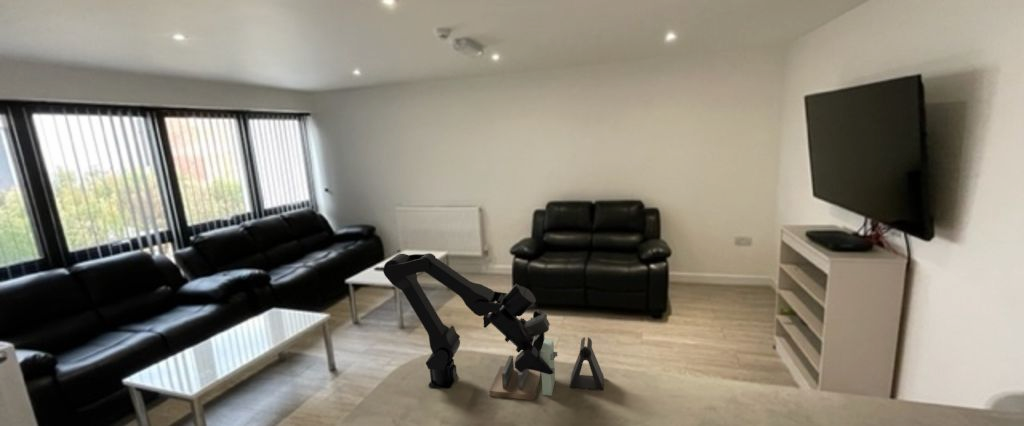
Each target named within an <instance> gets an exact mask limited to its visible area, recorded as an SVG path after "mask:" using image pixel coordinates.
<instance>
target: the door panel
mask: <svg viewBox="0 0 1024 426" xmlns="http://www.w3.org/2000/svg"><path fill="white" fill-rule="evenodd" d="M554 344H555V343H554V339H553V338H546V337H545V339H544V342H543V345H542V349H541V358H542V359H543V360H544V361H545V362H546V363H547V364H548V366H549V367H550V368H551V369H552V370H553V373H552V374H551V375H550V374H546V373H542V372H541V386H542V387H541V388H542V396H550V397H551V396H553V391H554V387H555V382H556V373H555V371H556V369H555V358H557V357H558V351H555V350H554V349H555V345H554ZM554 356H555V358H554Z"/></svg>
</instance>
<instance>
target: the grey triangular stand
mask: <svg viewBox="0 0 1024 426" xmlns="http://www.w3.org/2000/svg"><path fill="white" fill-rule="evenodd" d="M585 342H586V337H582V338H581V340H580V349H579V353H578V356H577V359H576V361H575V363H574V365H573V368H572V372H571V374H570V380H569V382H570V383H569V389H575V390H577V389H578V390H591V391H604V386H605V385H604V383H605V382H604V381H605V377H604V373H603V372H602V370H601V366H600V364H599V362H598V359H597V357H596V354H595V352H594V349H593V341H592V338H590V337H587V342H586V343H587V345H586V346H585ZM584 361H587V363H588V365H589V368H590V371H591V374H592V375H586V374H585V375H584V374H581V371H582V367H583V364H584ZM576 388H577V389H576Z"/></svg>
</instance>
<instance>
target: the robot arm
mask: <svg viewBox="0 0 1024 426" xmlns="http://www.w3.org/2000/svg"><path fill="white" fill-rule="evenodd" d="M382 272H383V274H384V276H385V278H386V279H387V280H388V281H389V282H390V283H391V285H392V286H394V287H396V288H397V289H398V290H399V291H402V293H403V295H404V296H405V298H406V300H407V301H408V303H409V305H410V306H411V308H412V310H413V311H414V313H415V315H416V316H417V319H418V320H419V322H420V323H421V325H422V327H423V328H424V329H425V331H426V333H427V335H428V340H429V348H430V350H431V354H430V355H429V357H428V358H427V360H426V362H425V365H426V367H427V369H428V370H429V373H430V374H429V375H430V376H429V377H430V381H429V383H428V388H438V389H439V388H441V389H451V388H452V386H453V384H454V383H455V382H456V380H457V378H458V373H457V371H458V370H457V365H456V364H455V359H454V356H455V354H456V353H457V352H458V350H459V348H460V345H461V340H460V338H461V335H459V334H458V332H457V330H456V328H455V327H454V325H451V326H450V327H448V326H447V325H446V324H444V323H443V321H442V320H441V318H440V317H439V316H440V315H438V313H437V311H436V310H435V308H434V306H433V304H432V303H431V301H430V299H429V297H428V296H427V295H426V293H425V291H424V290H423V287H422V286H421V285H420V283H419V281H418V275H417V274H419V273H426V274H427V275H429V276H430V277H432V278H433V279H434V280H435V281H437V282H439V283H440V284H441V285H443V286H445V287H446V288H447V289H449V290H450V291H451V292H453V293H454V294H456V295H457V296H459V297H460V298H461V300H462V301H463V302H464V305H465V306H466V307H467V308H468V309H469V310H470V311H471V312H472V313H473V314H474V315H476V316H478V317H482V320H483V328H485V329H486V328H487V327H488V326H489V325H490V324H491V325H493V327H495V328H496V329H497V330H498V331H499V332H500V333H501V335H503V336H504V341H505V342H506V343H508V342H511V343H512V344H513V345H514V346H515V347H516V349H515V351H516V352H517V353H518V354H517V355H516V358H515V361H514V367H515V368H516V369H517V370H518V371H519V372H520V373H521V372H523V371H524V370H526V369H530V370H535V371H539V372H541V374H542V373H546V374H550V375H551V374H552V373H553V370H552V369H551V368H550V367H549V366H548V364H547V363H546V362H545V361H544V360H543V359H542V358H541V349H542V345H543V342H544V339H545V338H546V337H545V333H547V332H548V331H549V330H550V326H551V325H550V324H551V323H550V322H549V320H548V315H547V314H546V313H545V312H543V311H541V310H540V309H537V310H533V313H532V314H533V315H532V317H530V319H529V320H526V319H525V318H523V317H522V315H523V314H524V313H525V312H526V311H528V310H529V309H530V308H531V307H532V306H533V305H534V304H535V303H536V301H537V300H536V297H535V296H534V293H532V291H531V290H530V289H529V288H526V287H525V286H522V285H519V284H518V283H515V285H513V286H512V288H511V289H510V290H509V291H508V292H501V291H495V290H492V289H491V288H489V287H487V286H485V285H483V284H482V283H481V284H480V283H476V282H473V281H470V280H469V279H467V278H466V277H464V276H463V275H462V274H461V273H459V272H458V271H456V270H454V269H453V268H452V267H450V266H448V265H447V264H445V263H444V262H443V261H442V260H440V259H439V258H437V257H436V255H434V254H433V253H430V252H428V253H422V254H421V253H414V254H407V253H398V254H397V255H395V256H393V257H392V258H391V259H389V260H388V261H386V262H385V264H384V266H383V269H382ZM518 317H521V318H518ZM555 358H556V356H554V359H555Z"/></svg>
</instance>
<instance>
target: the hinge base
mask: <svg viewBox="0 0 1024 426" xmlns="http://www.w3.org/2000/svg"><path fill="white" fill-rule="evenodd" d="M541 378H542V372H539V371H535V370H530V369H526V370H524V371H523V372H521V373H520V372H519V371H518V370H517V369H516V368H515V363H514V355H509V356H508V358H507V360H506V362H505V365H501V366H500V367H499V368H498V371H497V374H496V375H495V378H494V381H492V382H493V383H492V384H491V387H490V388H489V392H488V393H489V396H490V397H498V398H508V399H509V398H510V399H518V400H519V399H520V400H528V401H535V399H536V394H537V391H538V388H539V383H540V380H541Z"/></svg>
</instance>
